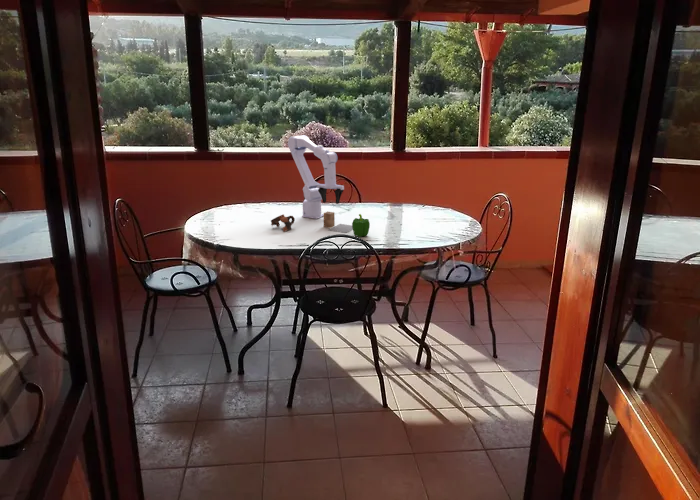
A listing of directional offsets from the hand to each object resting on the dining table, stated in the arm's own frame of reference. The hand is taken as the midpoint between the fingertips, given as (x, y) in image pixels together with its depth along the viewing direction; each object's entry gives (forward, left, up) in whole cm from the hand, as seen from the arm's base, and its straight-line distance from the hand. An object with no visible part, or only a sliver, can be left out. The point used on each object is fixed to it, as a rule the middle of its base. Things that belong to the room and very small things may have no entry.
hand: (331, 202), depth 280 cm
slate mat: (+11, -8, -10) cm, 17 cm away
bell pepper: (+24, -14, -10) cm, 30 cm away
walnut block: (+3, -8, -10) cm, 13 cm away
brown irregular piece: (-14, -22, -10) cm, 28 cm away
